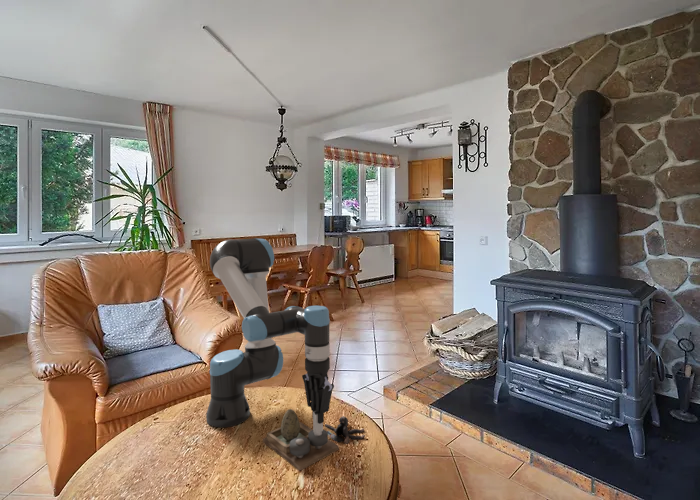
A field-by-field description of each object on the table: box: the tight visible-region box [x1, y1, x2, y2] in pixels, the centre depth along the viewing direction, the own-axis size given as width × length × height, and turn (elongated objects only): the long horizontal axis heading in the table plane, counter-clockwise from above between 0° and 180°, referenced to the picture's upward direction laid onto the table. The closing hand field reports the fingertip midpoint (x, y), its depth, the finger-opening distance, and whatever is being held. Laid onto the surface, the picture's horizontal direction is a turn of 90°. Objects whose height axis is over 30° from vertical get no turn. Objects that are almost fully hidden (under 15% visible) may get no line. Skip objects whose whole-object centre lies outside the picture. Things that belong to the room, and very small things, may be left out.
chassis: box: [262, 421, 340, 471], centre depth 125 cm, size 20×15×6 cm
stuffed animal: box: [324, 415, 366, 445], centre depth 133 cm, size 12×10×12 cm
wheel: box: [308, 428, 329, 446], centre depth 123 cm, size 6×6×3 cm
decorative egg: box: [280, 408, 300, 441], centre depth 126 cm, size 6×6×10 cm
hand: (318, 431), depth 122 cm, fingers closed
